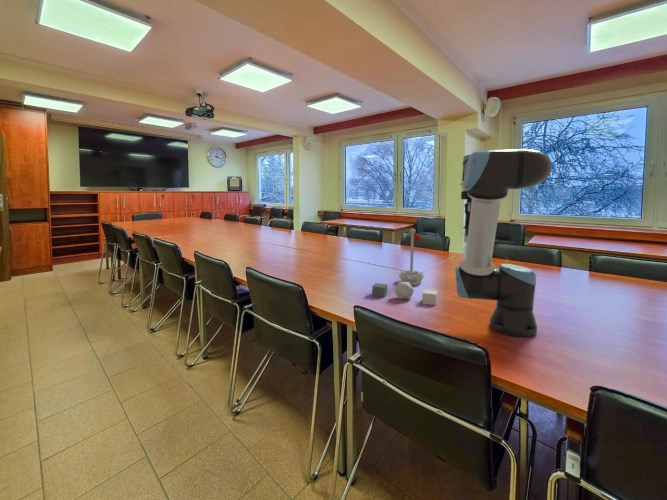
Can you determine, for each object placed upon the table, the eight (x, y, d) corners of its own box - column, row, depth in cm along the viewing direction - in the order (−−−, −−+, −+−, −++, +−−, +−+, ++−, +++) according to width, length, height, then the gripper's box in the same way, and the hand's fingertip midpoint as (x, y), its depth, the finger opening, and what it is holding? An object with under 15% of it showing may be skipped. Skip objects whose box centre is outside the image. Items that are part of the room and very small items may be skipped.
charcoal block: (384, 297, 159) (384, 287, 158) (372, 296, 162) (372, 286, 161) (387, 294, 165) (387, 284, 164) (375, 292, 167) (375, 283, 166)
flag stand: (397, 284, 180) (399, 229, 175) (400, 278, 193) (401, 227, 187) (422, 286, 176) (424, 230, 171) (423, 280, 189) (425, 227, 184)
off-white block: (435, 305, 148) (436, 294, 147) (422, 303, 150) (422, 293, 149) (437, 301, 154) (437, 290, 153) (423, 299, 156) (424, 289, 155)
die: (409, 304, 152) (419, 285, 153) (392, 294, 152) (402, 276, 154) (405, 304, 160) (414, 287, 161) (389, 295, 160) (399, 278, 162)
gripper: (462, 190, 157) (459, 240, 161) (460, 190, 145) (457, 244, 149) (479, 190, 154) (476, 240, 158) (479, 190, 142) (475, 245, 146)
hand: (467, 242), depth 153 cm, fingers closed
